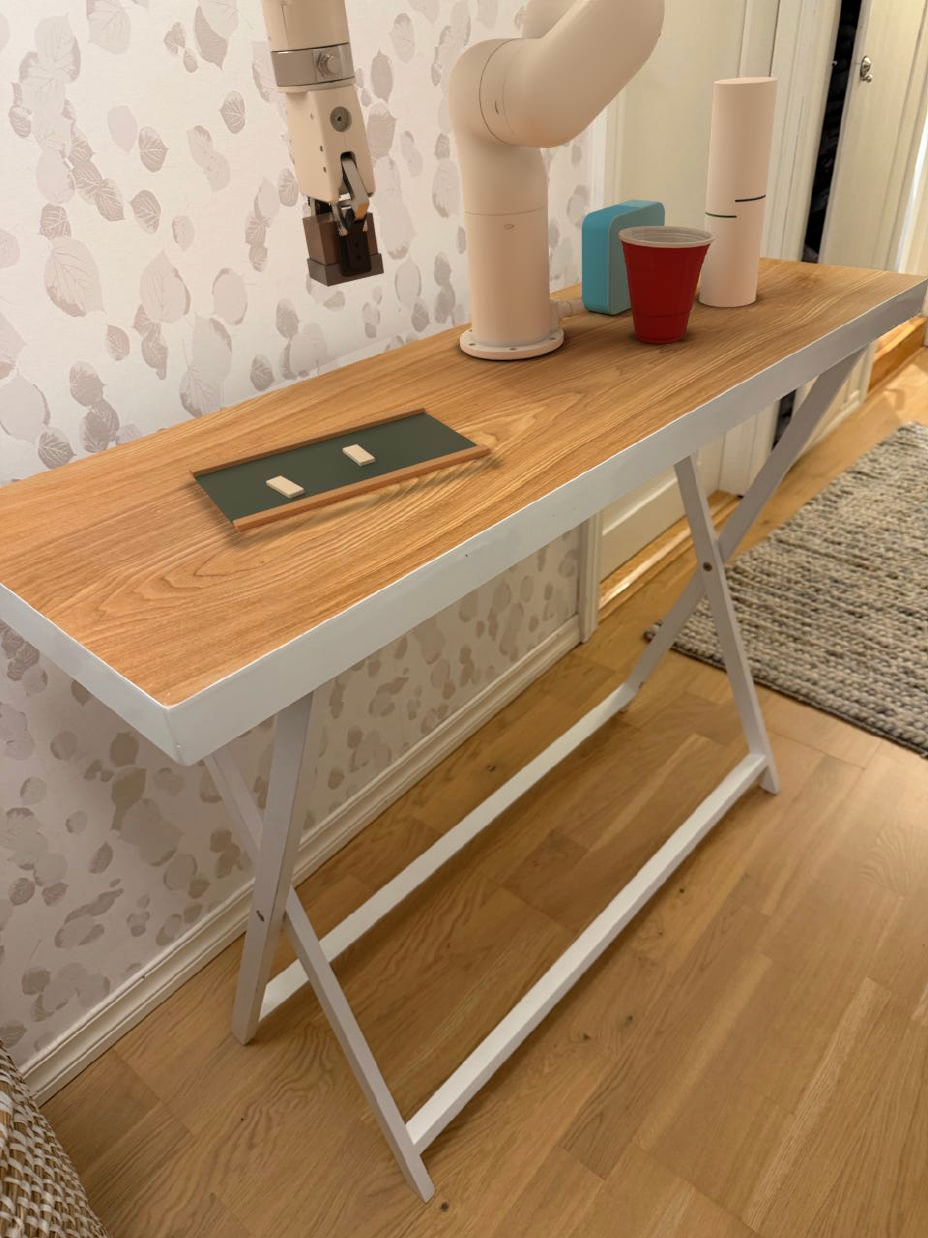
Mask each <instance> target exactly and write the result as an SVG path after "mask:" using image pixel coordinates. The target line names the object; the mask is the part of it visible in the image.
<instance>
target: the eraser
mask: <svg viewBox="0 0 928 1238" xmlns="http://www.w3.org/2000/svg"><path fill="white" fill-rule="evenodd" d="M349 208H350V207H347V208H342V212H343V215H344V218H345V214H346V210H347V209H349ZM374 219H375V218H374V213H373V212H372V211H371V212H370V211H369V210H367V215H366V222H367V228H368V229H367V238H368V245H369V252H370V259H371V265H372V270H371V271H370V272H367V273H363V274H359V275H355V276H351V277H345V276H343V275H342V272H341V266H340V260H339V254H338V248H337V242H336V236H339V232H338V228H337V225H336V221H335V217H334V213H333V212H329V213H324V214H319V215H314V216H311V215H310V216H305V217H303V218H301V220H302V226H303V232H304V236H305V242H306V248H307V254H308V258H307V257H306V264H307V269H308V274H309V278H310V279H312V280H313V281H315V282H318V283H319V284H322V285H323V286H326V287H332V286H337V285H341V284H345V283H350V282H354V281H357V280H362V279H366V278H370V277H374V276H379V275H383V274H385V269H384V263H383V262H384V261H383V254H382V253H381V252H379V249H378V248H379V247H378V241H377V240H378V239H377V234H376V228H375V227H376V226H375V220H374Z"/></svg>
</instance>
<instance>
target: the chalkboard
mask: <svg viewBox="0 0 928 1238" xmlns="http://www.w3.org/2000/svg"><path fill="white" fill-rule="evenodd" d="M356 444H357V445H358V446H360V447H361V448H362V449H364V450H365V451H366V452H368V453H369V454H370V455H371V456H373V457H374V458H375V462H373V463H370V464H367V465H363V466H360V465H359V464H357V463H356V462H355V461H354V460H352V459H351V458H350V457H349V456H347V455H346V454H345V453H344V452H343V448H346V447H349V446H353V445H356ZM490 454H491V447H490V446H488V445H487V444H485V443H482V444H477V443H475V442H474V441H472V440H471V439H469V438H467V437H465V436H464V435H463V434H461V433H459V432H458V431H456V430H454V429H453V428H451V427H450V426H448V425H447V424H445V423H443V422H442V421H440V420H438V419H437V418H436V417H434V416H432V415H431V414H429V413H427V412H426V411H425V406H423V405H421V404H419V403H418V404H414V405H410V406H407V407H403V408H399V409H396V410H393V411H389V412H386V413H382V414H379V415H374V416H371V417H368V418H363V419H361V420H357V421H353V422H350V423H346V424H343V425H339V426H335V427H331V428H327V429H325V430H321V431H317V432H314V433H311V434H307V435H303V436H299V437H295V438H293V439H288V440H284V441H282V442H278V443H274V444H271V445H266V446H264V447H260V448H257V449H253V450H249V451H244V452H242V453H239V454H235V455H230V456H227V457H223V458H221V459H217V460H213V461H210V462H206V463H204V464H198V465H196V466H192V467H189V468H188V470H189V474H190V476H191V477H192V478H193V479H194V480H195V482H196V483H197V484H198V485H199V486H200V487H201V489H202V490H203V491H204V492H205V493H206V495H207V496H208V497H209V498H210V499H211V501H212V502H213V503H214V504H215V505H216V507H217V508H218V509H219V510H220V511H221V513H222V514H223V515H224V516H225V518H226V519H227V520H228V521H229V523H231V525H232V526H233V527H234V529H235V530H236V531H237V532H238V533H240V532H243V531H246V530H249V529H252V528H256V527H259V526H262V525H266V524H269V523H271V522H275V521H278V520H281V519H285V518H287V517H288V518H289V517H291V516H294V515H298V514H301V513H304V512H307V511H311V510H314V509H317V508H320V507H324V506H326V505H329V504H333V503H337V502H339V501H343V500H346V499H349V498H352V497H356V496H359V495H362V494H365V493H369V492H371V491H374V490H375V491H376V490H379V489H380V488H381V489H382V488H384V487H387V486H391V485H394V484H398V483H400V482H403V481H407V480H410V479H413V478H416V477H419V476H422V475H426V474H429V473H431V472H435V471H438V470H439V471H440V470H442V469H446V468H448V467H452V466H455V465H458V464H461V463H464V462H468V461H471V460H474V459H477V458H480V457H483V456H486V455H490ZM278 476H282V477H284V478H286V479H287V480H289V481H291V482H293V483H294V484H296V485H298V486H300V487H301V488H303V489H304V492H305V493H303V494H300V495H298V496H295V497H293V498H288V497H287V496H285V495H283V494H281V493H280V492H278V491H276V490H275V489H273V488H271V487H270V486H268V485H267V483H266V481H268V480H270V479H273V478H276V477H278Z"/></svg>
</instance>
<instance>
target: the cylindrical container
mask: <svg viewBox="0 0 928 1238" xmlns="http://www.w3.org/2000/svg"><path fill="white" fill-rule="evenodd" d="M778 82H779V77H778V78H777V77H774V76H749V77H733V78H725V79H719V80H716V81H714V82H713V93H712V107H711V122H710V138H709V150H708V151H709V153H708V154H709V155H708V164H707V165H708V166H707V179H706V192H705V193H706V195H705V209H704V223H703V225H704V226H703V231H708V232H710V233H712V234H714V235H715V239H714V241H713V242H712V243H711V245H710V246H709V248H708V250H707V254H706V255H705V258H704V262H703V264H702V267H701V271H700V281H699V282H700V283H699V296H698V297H699V298H698V301H699V302H700V303H701V304H703V305H706V306H710V307H716V308H735V307H736V308H737V307H743V306H747V305H751V304H752V303H754V302H755V301H756V297H757V288H758V278H759V268H760V258H761V250H762V239H763V229H764V219H765V211H766V199H767V189H768V179H769V171H770V170H769V169H770V160H771V152H772V151H771V150H772V140H773V131H774V121H775V111H776V101H777V91H778Z"/></svg>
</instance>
